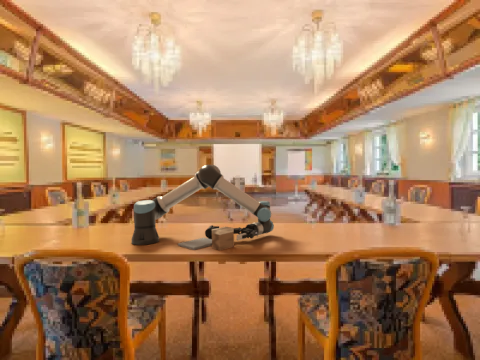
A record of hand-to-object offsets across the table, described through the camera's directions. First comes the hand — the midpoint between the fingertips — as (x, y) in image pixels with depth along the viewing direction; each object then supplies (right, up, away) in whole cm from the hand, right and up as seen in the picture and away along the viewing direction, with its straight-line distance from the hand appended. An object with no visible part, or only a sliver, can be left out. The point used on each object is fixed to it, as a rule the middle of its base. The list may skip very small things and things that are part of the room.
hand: (227, 235), depth 153 cm
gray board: (-16, -6, +6) cm, 18 cm away
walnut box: (-2, -6, -1) cm, 6 cm away
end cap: (-10, -6, +22) cm, 25 cm away
